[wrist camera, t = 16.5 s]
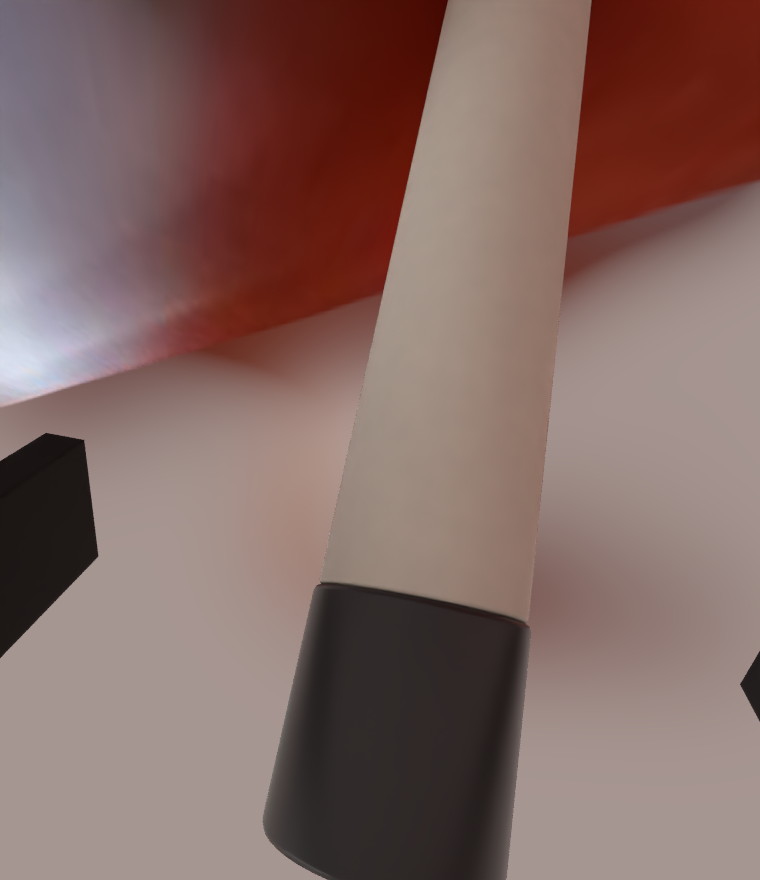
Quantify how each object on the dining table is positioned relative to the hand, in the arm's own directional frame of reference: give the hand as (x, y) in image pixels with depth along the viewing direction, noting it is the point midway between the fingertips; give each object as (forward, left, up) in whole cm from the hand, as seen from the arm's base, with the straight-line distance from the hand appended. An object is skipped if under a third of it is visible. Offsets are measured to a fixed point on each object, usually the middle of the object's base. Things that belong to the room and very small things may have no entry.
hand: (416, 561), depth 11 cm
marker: (0, +2, -12) cm, 12 cm away
